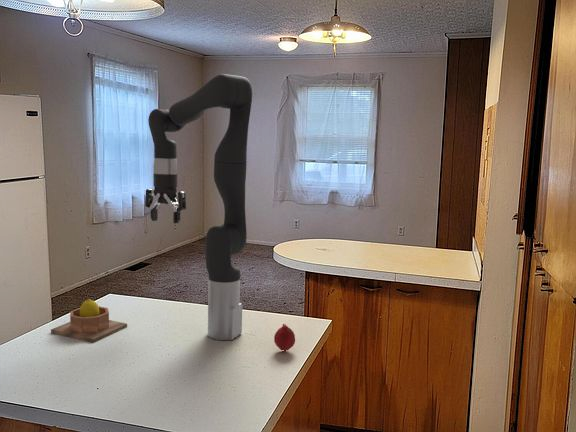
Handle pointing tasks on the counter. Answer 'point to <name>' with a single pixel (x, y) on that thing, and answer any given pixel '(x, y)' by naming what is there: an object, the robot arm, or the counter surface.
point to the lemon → (89, 309)
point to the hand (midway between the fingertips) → (165, 221)
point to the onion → (284, 338)
